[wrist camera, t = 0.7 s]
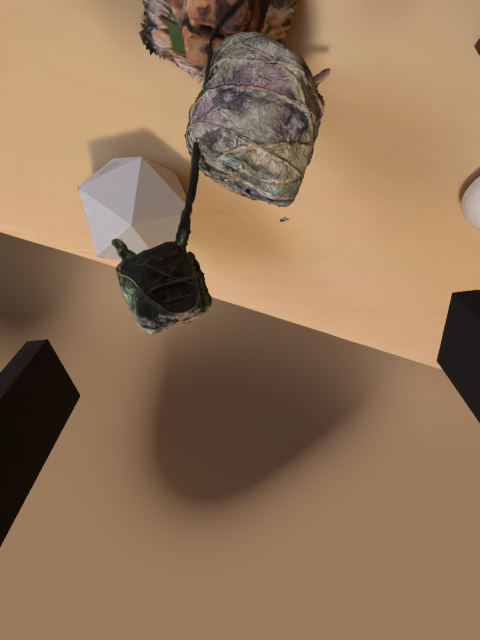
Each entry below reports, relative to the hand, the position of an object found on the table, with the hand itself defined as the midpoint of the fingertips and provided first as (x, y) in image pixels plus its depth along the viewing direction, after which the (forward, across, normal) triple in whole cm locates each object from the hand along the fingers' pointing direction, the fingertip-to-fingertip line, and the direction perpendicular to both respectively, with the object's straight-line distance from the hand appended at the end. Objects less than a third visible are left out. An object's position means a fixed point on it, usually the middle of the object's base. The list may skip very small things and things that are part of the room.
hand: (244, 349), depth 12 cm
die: (+24, -9, +2) cm, 25 cm away
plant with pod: (+18, +1, +10) cm, 21 cm away
